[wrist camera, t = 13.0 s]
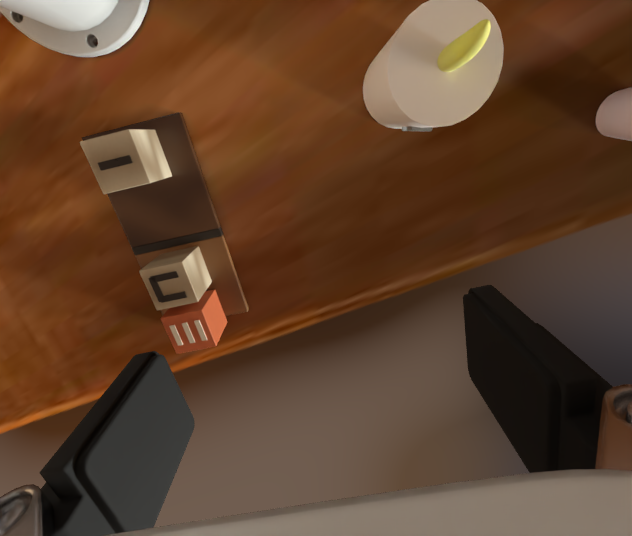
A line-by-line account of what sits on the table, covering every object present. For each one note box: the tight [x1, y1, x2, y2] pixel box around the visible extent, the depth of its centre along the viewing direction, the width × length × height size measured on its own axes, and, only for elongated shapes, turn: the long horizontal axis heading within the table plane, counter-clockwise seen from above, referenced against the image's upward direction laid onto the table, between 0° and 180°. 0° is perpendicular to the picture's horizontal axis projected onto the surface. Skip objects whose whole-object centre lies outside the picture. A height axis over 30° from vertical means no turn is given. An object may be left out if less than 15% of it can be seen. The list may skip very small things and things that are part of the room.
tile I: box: [80, 129, 172, 194], centre depth 28 cm, size 4×4×4 cm
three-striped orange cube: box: [161, 289, 227, 354], centre depth 33 cm, size 4×4×4 cm
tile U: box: [139, 246, 212, 310], centre depth 32 cm, size 4×4×4 cm
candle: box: [363, 0, 504, 131], centre depth 21 cm, size 6×6×15 cm
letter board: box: [82, 113, 249, 316], centre depth 33 cm, size 20×9×1 cm, turn 13°
